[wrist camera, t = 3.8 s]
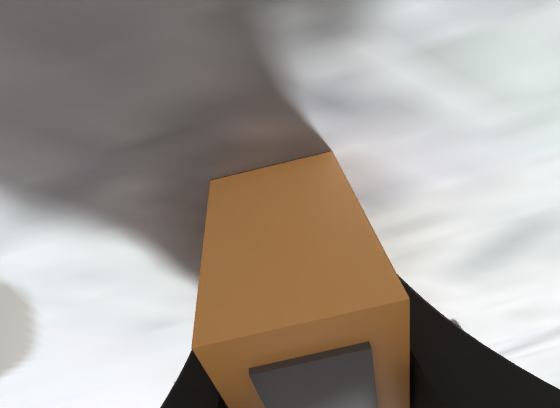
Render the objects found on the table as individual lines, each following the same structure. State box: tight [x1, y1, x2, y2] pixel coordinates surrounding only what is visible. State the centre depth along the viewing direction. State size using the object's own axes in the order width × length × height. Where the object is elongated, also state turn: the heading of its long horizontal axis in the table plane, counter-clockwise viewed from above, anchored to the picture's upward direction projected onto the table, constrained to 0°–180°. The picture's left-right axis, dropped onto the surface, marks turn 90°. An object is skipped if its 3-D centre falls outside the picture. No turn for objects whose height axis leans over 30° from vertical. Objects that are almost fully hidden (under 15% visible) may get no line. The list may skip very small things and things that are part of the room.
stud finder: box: [191, 151, 410, 408], centre depth 11 cm, size 4×8×6 cm, turn 12°
